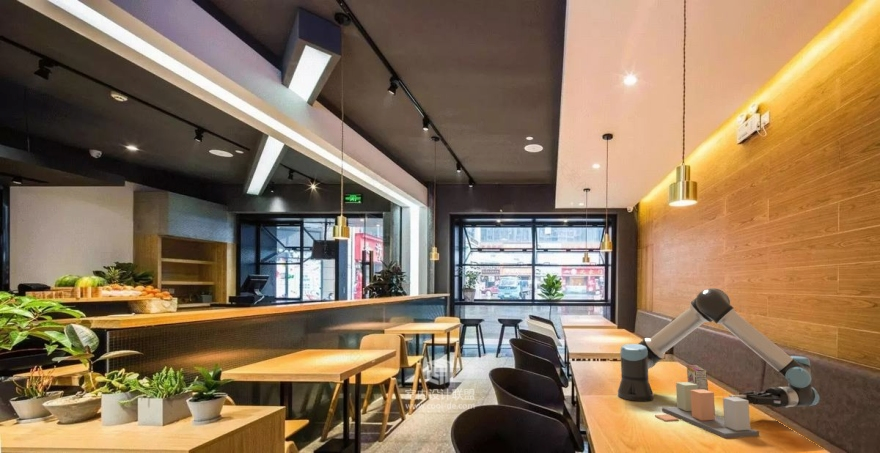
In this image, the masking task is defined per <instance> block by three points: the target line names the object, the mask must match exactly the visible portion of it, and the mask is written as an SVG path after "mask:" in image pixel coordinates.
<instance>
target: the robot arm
mask: <svg viewBox="0 0 880 453" xmlns="http://www.w3.org/2000/svg"><path fill="white" fill-rule="evenodd" d="M735 309H736V308H735V307H734V306H732V305H731V300H730V298H729V296H728V294H727V293H726V292H724V291H723V290H721V289H719V288H713V287H712V288H707V289H704V290H701V291H700V292H699V293H698V294H697V295H696V297H695V298H694V299H693V300H691V302H689V307H688V308H687V309H686V310H685V311H684V312H682V313H681V314H679V315H678V316H677V317H675V319H673V320H672V321H671V322H669V323H668V324H667V325H666V326H664V327H663V328H662V329H660V330H659V331H658V332H657V333H655V334H654V335H653V336H651V337H645V338H643V339H642V340H641V341H640V342H638V343H627V344H623V345H621V348H620V352H619V355H620V371H621V377H620V378H621V379H620V383H619V386H618V390H617V396H618V397H619V398H621V399H624V400H627V401H628V400H629V401H633V402H634V401H636V402H650V401H653V400H654V392H653V390H652V387H651V385H650V382H649V380H650V379H649V369H651V368H653V367H654V366H655V365H657V363H659V362H660V361H661V360H663V359H664V358H665V353H666V352H667V351H669V350H670V349H671V348H673V347H674V346H675V345H677V344H678V343H679V342H680V341H681V340H683V339H685V338H686V337H687V336H688V335H689V334H691V333H692V332H694V331H695V330H696V329H697V328H699V327H700V326H701V325H703V324H704V323H712V322H714V323H715V324H716V325H721V326H723V327H724V328H725V330H727V331H729V332H730V333H731V334H732V335H734V337H736V338H737V339H738V340H740V341H741V342H742V343H743V344H744V345H745V346H747V347H748V348H749V349H750V350H751V351H753V352H754V353H755V354H756V355H758V357H760V358H761V359H762V360H764V361H765V362H766V363H767V364H768V365H769V366H771V367H772V368H773V369H774V370H775V371H777V372H778V373H779V374H780V375H781V376H782V377H783V378H784V379H785V380H786V381H787V383H788V384H787V385H788V386H776V387H773V386H771V387H768V388H767V389H765V391H764V390H763V391H759V392H758V391H757V392H756V391H755V390H749V391H743V392H739V393H738V394H729V395H728V397H738V398H742V399H745V400H748V401H749V404H753V405H755V406H756V405H757V406H758V405H762V406H763V405H764V406H765V405H766V406H771V407H773V408H786V409H789V407H791V408H792V407H811V406H815V405H817V404H818V403H819V402H820V395H819V393H818V391H817V390H816V388H814V387H813V386H812V380H813V379H812V372H811V368H812V366H811V360H810V359H809V357H805V356H800V355H789V354H788V353H786V352H785V351H784V350H783V349H782V348H780V346H778V345H776V343H774V342H773V341H772V340H770V339H769V337H766V335H764V334H763V333H762V332H760V331H759V330H758V329H757V328H756V327H754V326H753V325H752V324H751V323H749V322H748V321H747V320H746V319H744V318H743V317H742V316H741V315H740V314H739V313H737V312H736V310H735Z"/></svg>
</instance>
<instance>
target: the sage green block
mask: <svg viewBox="0 0 880 453" xmlns="http://www.w3.org/2000/svg"><path fill="white" fill-rule="evenodd" d="M675 386H676V390H675V391H676V407H677V408H680V409H682V410H685V411H692V409H691V390H698V385H696V384H693V383H690V382H688V381H685V382H684V381H682V382H675Z"/></svg>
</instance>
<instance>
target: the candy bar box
mask: <svg viewBox="0 0 880 453" xmlns="http://www.w3.org/2000/svg"><path fill="white" fill-rule="evenodd" d="M686 374H687V375H686V376H687V377H686V378H687V382H690V383H693V384H696V385H698V390H701V389H704V390H707V391H709V386H708V371H707V370H706V369H704V368H702V367H701V366H699V365H694V364H693V365H691V364H688V365H686Z"/></svg>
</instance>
